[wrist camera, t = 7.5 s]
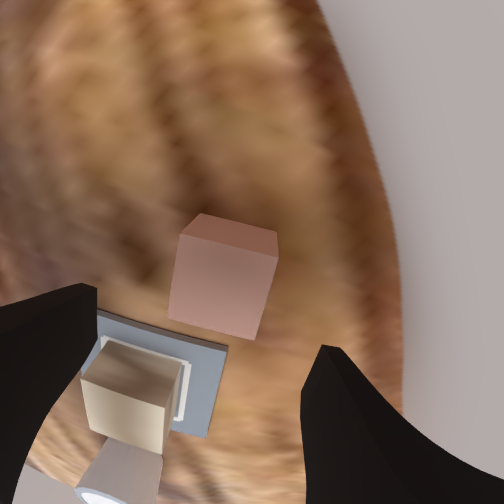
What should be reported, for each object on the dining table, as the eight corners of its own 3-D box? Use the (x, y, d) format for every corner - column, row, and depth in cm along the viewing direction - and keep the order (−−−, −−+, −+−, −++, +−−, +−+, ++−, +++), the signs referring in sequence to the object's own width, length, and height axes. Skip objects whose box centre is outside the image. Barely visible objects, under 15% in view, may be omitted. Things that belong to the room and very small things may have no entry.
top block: (187, 282, 17) (166, 318, 14) (200, 212, 16) (179, 233, 12) (257, 299, 17) (254, 340, 14) (277, 231, 16) (279, 257, 12)
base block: (111, 391, 20) (90, 429, 16) (108, 339, 18) (80, 378, 14) (175, 412, 20) (161, 454, 16) (182, 362, 18) (164, 408, 15)
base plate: (88, 395, 21) (85, 400, 21) (80, 303, 18) (75, 307, 18) (206, 432, 21) (205, 438, 21) (228, 346, 18) (226, 352, 18)
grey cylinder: (116, 419, 22) (85, 481, 15) (183, 459, 23) (166, 522, 16) (92, 443, 24) (66, 495, 17) (150, 478, 25) (132, 530, 18)
